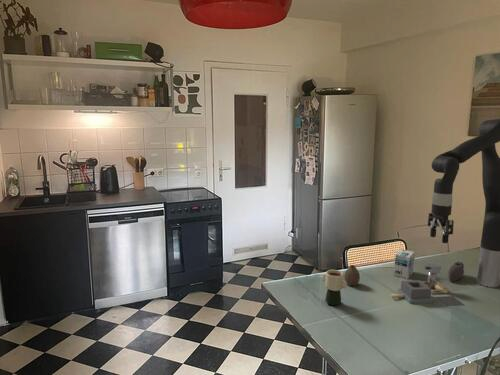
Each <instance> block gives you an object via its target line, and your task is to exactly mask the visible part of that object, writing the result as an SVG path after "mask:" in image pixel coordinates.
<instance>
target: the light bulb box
mask: <svg viewBox="0 0 500 375" xmlns="http://www.w3.org/2000/svg"><path fill="white" fill-rule="evenodd" d="M415 255H416V252H415V251H411V250H407V249H403V248H401V249H400V250H399V251H398V252H396V253H395V255H394V256H395V257H394V269H393V276H396V277H399V278H403V279H407V280H409V278H410V277H411V275H413V273H414V268H415V267H414V265H415Z"/></svg>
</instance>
